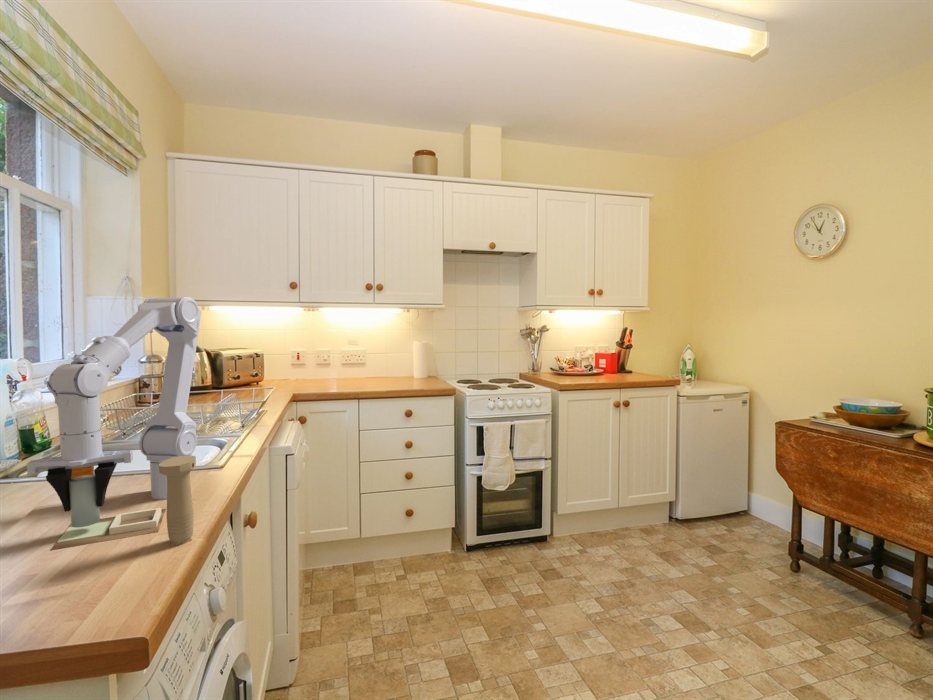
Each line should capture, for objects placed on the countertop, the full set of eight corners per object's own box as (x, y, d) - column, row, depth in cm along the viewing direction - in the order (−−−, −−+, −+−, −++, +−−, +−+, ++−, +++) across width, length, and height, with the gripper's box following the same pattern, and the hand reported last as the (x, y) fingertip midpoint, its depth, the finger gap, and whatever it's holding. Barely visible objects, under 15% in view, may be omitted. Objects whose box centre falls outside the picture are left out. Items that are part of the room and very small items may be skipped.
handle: (204, 538, 85) (201, 455, 84) (187, 555, 79) (183, 466, 78) (176, 539, 84) (172, 456, 84) (156, 557, 78) (151, 467, 77)
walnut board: (71, 529, 89) (71, 523, 89) (166, 514, 96) (165, 508, 96) (50, 557, 78) (49, 550, 78) (158, 538, 85) (158, 531, 85)
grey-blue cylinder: (74, 520, 86) (72, 477, 86) (102, 516, 88) (100, 473, 87) (68, 529, 82) (65, 483, 82) (96, 524, 84) (94, 480, 84)
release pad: (68, 528, 87) (68, 527, 87) (112, 521, 90) (112, 520, 90) (57, 543, 81) (57, 542, 81) (104, 535, 84) (104, 534, 84)
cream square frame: (117, 520, 90) (117, 514, 90) (161, 513, 93) (161, 507, 93) (109, 534, 84) (109, 528, 84) (156, 527, 87) (156, 520, 87)
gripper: (17, 441, 77) (23, 523, 78) (126, 431, 84) (130, 507, 85) (33, 432, 84) (38, 508, 84) (133, 424, 90) (136, 494, 91)
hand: (84, 507), depth 85 cm, fingers closed on grey-blue cylinder, 4 cm apart
